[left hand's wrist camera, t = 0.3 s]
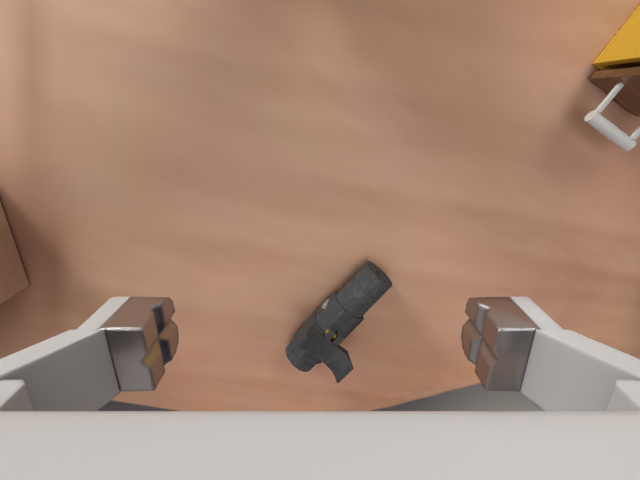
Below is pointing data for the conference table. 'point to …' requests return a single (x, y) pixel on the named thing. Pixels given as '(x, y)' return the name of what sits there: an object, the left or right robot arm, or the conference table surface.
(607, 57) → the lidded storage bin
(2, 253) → the box
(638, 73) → the drawer
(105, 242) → the conference table surface
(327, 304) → the laser sight
